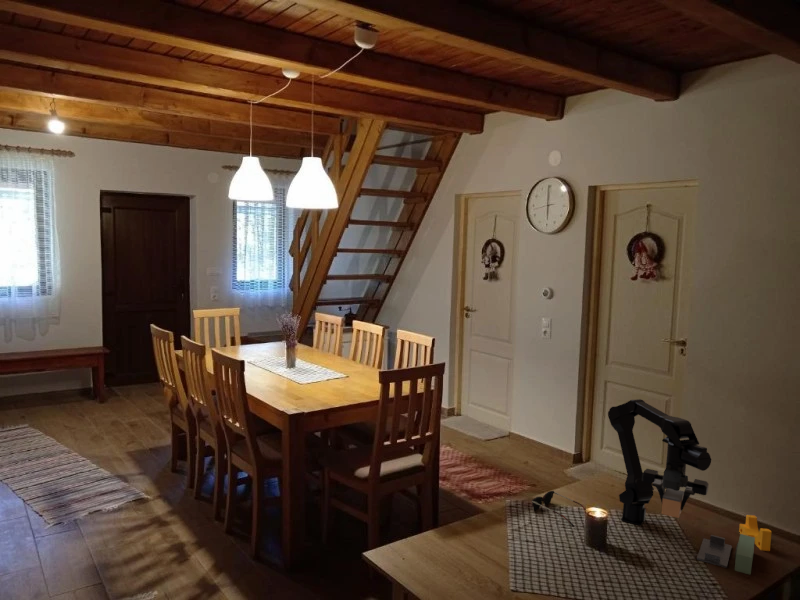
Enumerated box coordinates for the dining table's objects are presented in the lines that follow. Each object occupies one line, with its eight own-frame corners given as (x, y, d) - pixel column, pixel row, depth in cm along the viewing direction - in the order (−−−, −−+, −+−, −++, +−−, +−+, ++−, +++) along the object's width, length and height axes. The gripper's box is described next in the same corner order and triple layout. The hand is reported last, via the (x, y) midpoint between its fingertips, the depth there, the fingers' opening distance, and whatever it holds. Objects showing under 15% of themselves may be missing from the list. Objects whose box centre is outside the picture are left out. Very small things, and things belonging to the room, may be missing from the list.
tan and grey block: (661, 513, 192) (662, 496, 191) (665, 504, 200) (667, 487, 199) (678, 517, 189) (680, 500, 189) (682, 508, 197) (684, 491, 197)
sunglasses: (551, 502, 223) (552, 489, 222) (592, 520, 212) (593, 506, 211) (530, 512, 213) (531, 499, 212) (571, 532, 202) (573, 517, 201)
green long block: (733, 569, 179) (734, 553, 178) (737, 548, 192) (738, 533, 192) (750, 574, 176) (751, 558, 176) (753, 553, 190) (755, 537, 189)
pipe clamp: (738, 533, 204) (740, 514, 204) (752, 534, 204) (754, 515, 203) (754, 550, 192) (756, 530, 192) (769, 551, 192) (771, 531, 191)
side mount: (696, 559, 184) (697, 551, 184) (703, 540, 197) (704, 532, 197) (726, 568, 180) (727, 559, 179) (731, 547, 193) (732, 539, 193)
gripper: (639, 459, 191) (636, 508, 193) (706, 473, 181) (701, 524, 183) (647, 450, 201) (643, 497, 202) (710, 463, 191) (706, 512, 192)
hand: (672, 507), depth 194 cm, fingers closed on tan and grey block, 5 cm apart
